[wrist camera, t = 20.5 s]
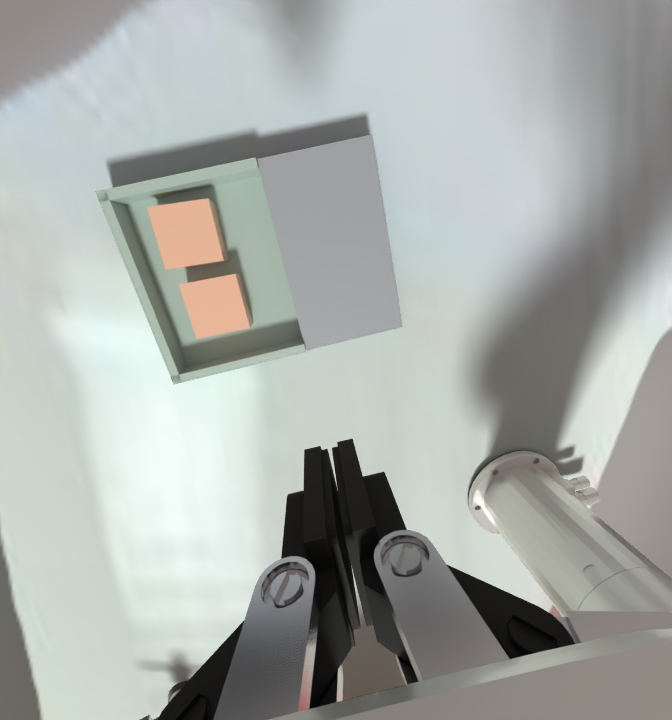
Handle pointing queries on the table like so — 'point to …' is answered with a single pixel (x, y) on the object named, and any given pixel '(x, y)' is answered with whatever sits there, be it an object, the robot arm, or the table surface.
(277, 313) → the tray
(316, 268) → the deck
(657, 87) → the table surface
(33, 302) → the table surface
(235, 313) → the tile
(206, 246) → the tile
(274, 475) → the table surface
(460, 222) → the table surface
